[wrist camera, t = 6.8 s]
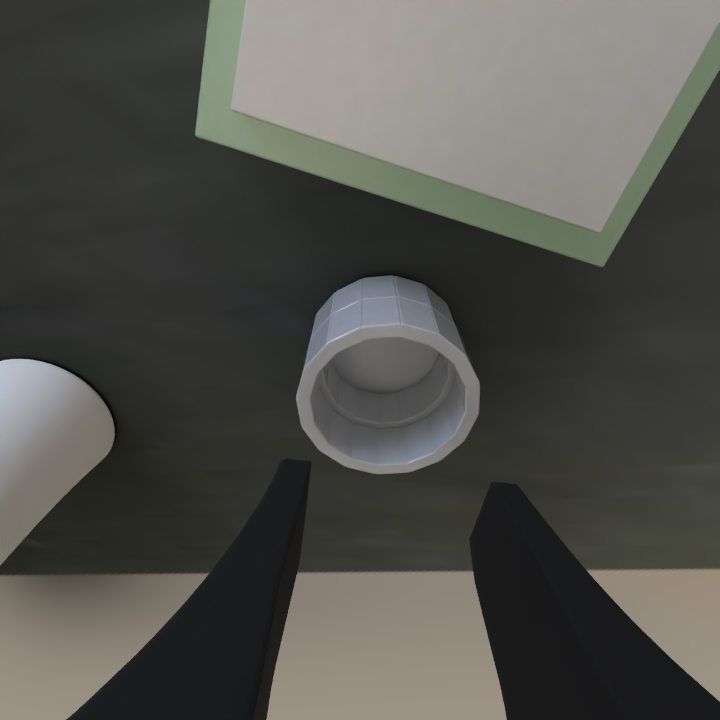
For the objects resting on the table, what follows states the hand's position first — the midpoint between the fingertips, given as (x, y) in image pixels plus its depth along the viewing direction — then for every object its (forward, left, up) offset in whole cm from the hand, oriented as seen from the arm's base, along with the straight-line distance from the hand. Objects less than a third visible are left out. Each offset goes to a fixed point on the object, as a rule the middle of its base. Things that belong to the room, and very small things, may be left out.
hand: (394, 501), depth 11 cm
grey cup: (0, 0, -8) cm, 8 cm away
